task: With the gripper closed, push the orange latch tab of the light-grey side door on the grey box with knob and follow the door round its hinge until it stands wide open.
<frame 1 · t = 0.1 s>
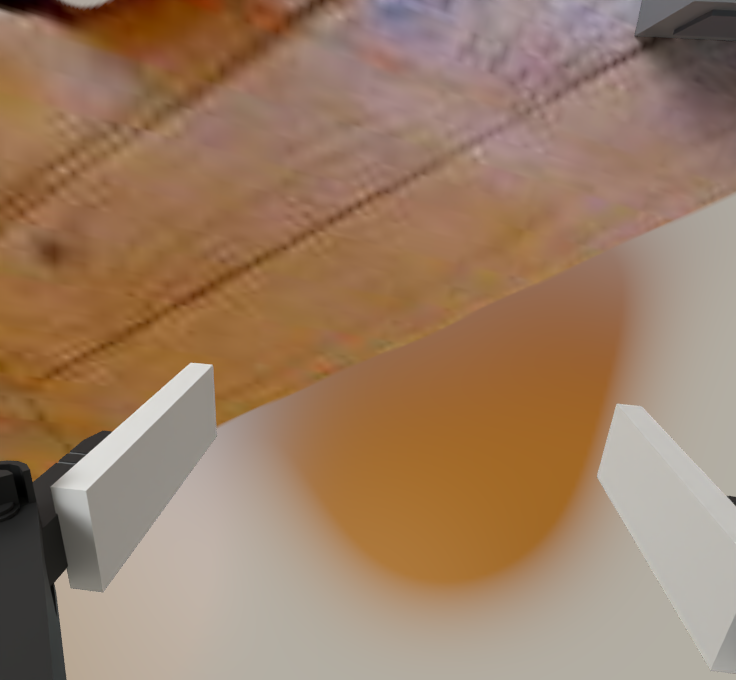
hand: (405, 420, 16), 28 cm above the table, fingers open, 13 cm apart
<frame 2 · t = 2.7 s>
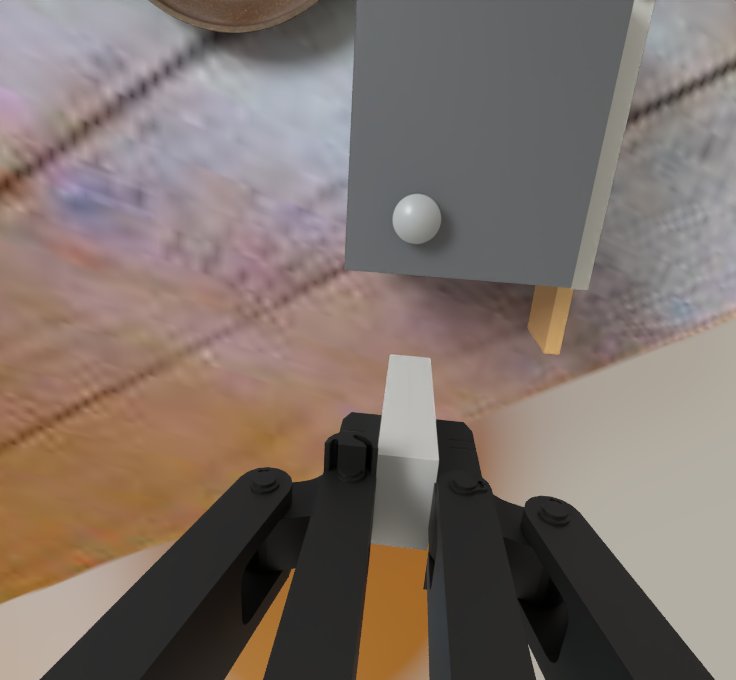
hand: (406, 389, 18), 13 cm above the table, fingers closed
grey box with knob: (456, 148, 27), on the table
door: (577, 190, 24), point 3 cm above the table, hinge at 0.0°
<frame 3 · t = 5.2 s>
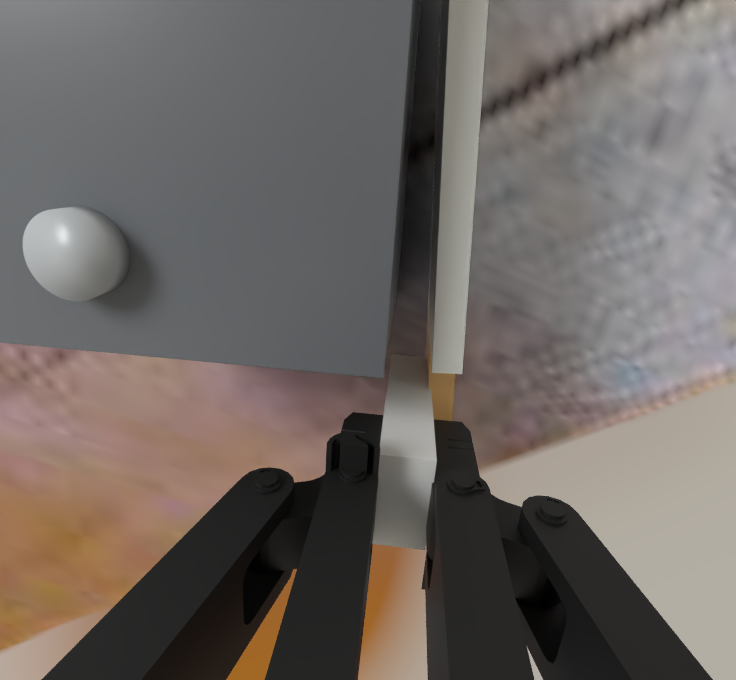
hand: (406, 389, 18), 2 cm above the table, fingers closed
grey box with knob: (270, 134, 17), on the table
door: (448, 199, 14), point 3 cm above the table, hinge at 3.5°, touching gripper
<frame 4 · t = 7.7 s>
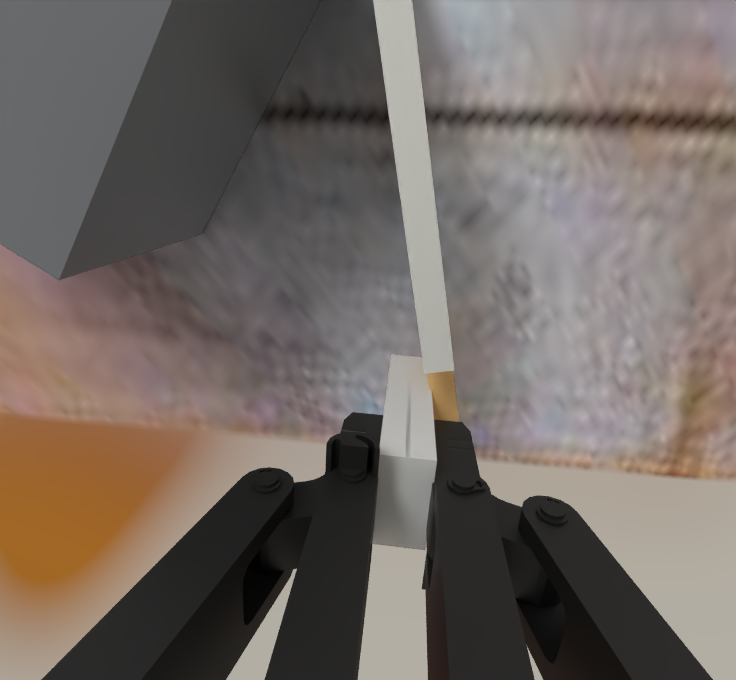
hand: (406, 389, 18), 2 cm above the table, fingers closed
grey box with knob: (143, 14, 16), on the table
door: (418, 199, 14), point 3 cm above the table, hinge at 42.6°, touching gripper
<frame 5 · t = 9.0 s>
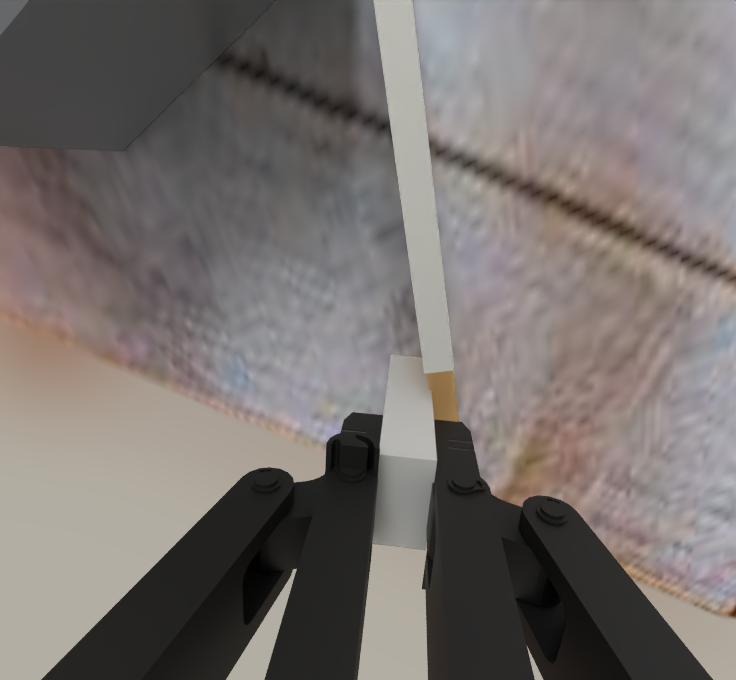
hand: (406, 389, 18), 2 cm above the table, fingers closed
door: (419, 199, 14), point 3 cm above the table, hinge at 62.7°, touching gripper
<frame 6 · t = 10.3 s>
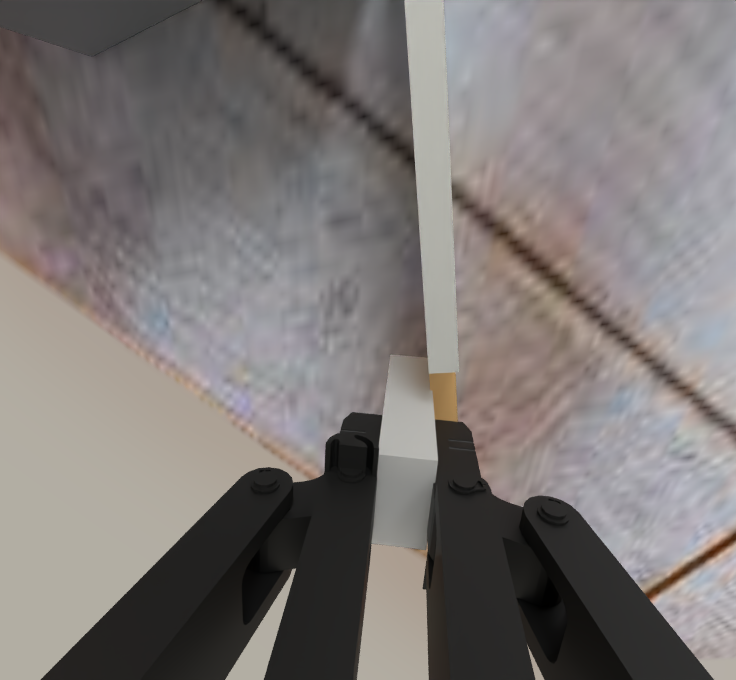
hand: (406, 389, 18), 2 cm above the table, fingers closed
door: (431, 198, 14), point 3 cm above the table, hinge at 75.5°, touching gripper
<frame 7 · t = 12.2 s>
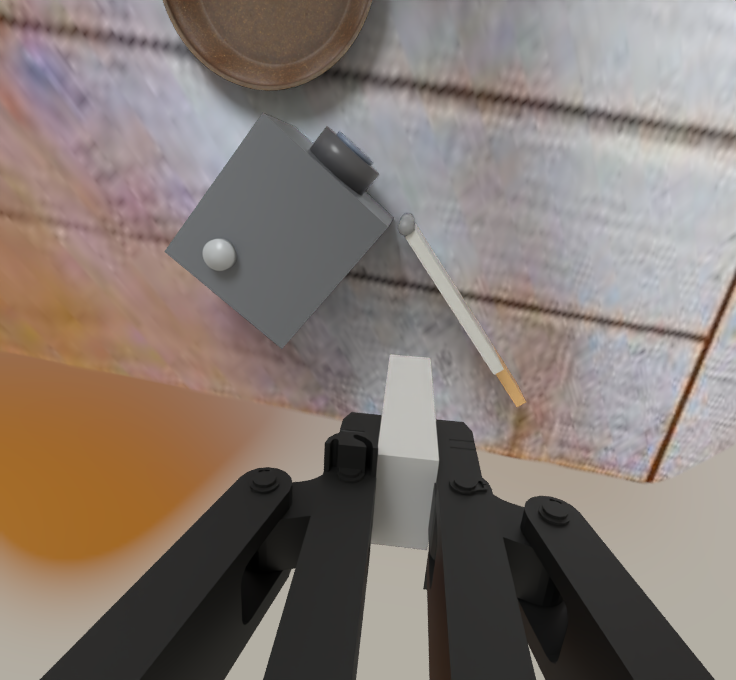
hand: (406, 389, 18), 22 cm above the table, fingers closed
grey box with knob: (301, 227, 38), on the table
door: (463, 311, 36), point 3 cm above the table, hinge at 75.5°
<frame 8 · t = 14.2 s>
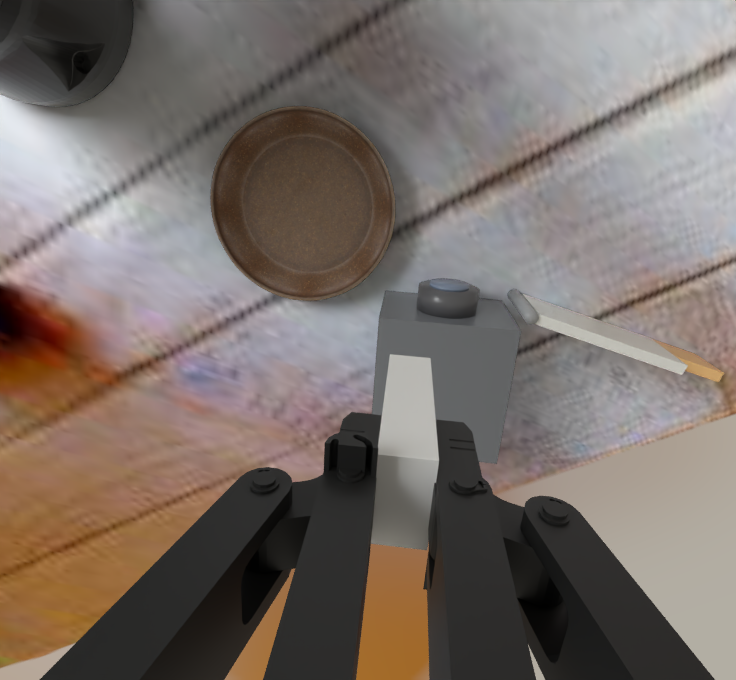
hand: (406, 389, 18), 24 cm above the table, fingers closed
grey box with knob: (436, 354, 43), on the table
saucer: (308, 207, 40), on the table
door: (614, 337, 38), point 3 cm above the table, hinge at 75.5°
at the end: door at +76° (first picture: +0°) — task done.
